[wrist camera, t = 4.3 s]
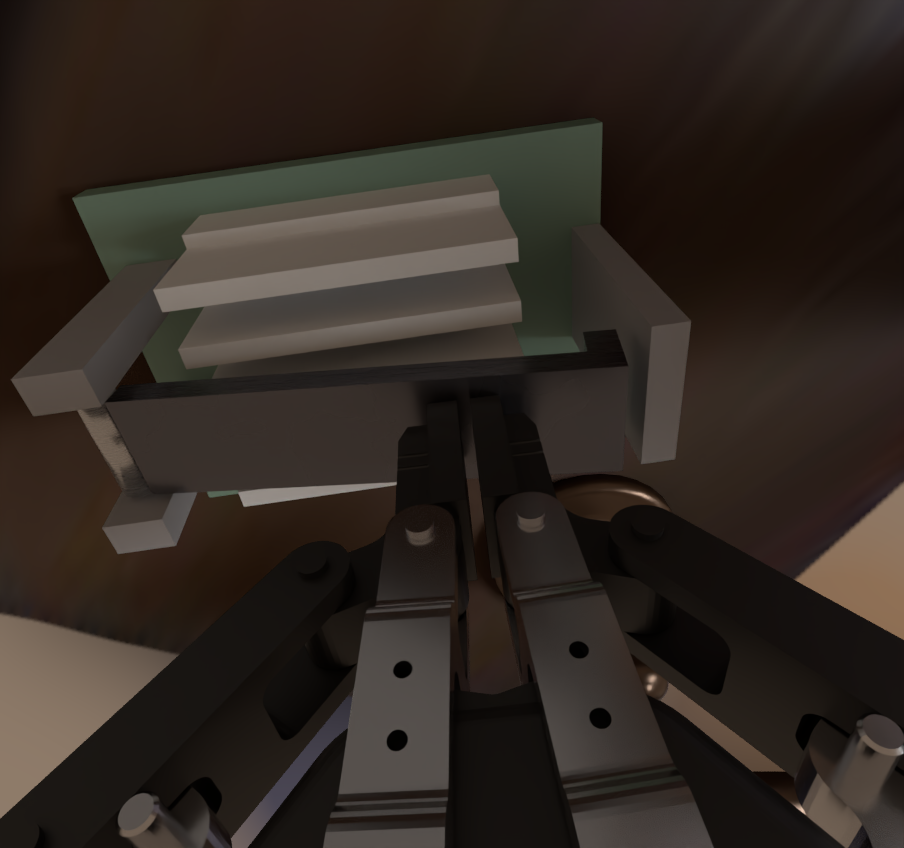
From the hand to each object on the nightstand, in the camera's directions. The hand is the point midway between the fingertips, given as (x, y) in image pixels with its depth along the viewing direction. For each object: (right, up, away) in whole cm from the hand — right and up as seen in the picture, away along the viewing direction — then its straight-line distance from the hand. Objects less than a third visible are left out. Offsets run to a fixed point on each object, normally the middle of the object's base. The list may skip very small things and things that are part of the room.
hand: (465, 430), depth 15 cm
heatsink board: (-3, +4, +8) cm, 9 cm away
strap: (-3, +1, +2) cm, 3 cm away
